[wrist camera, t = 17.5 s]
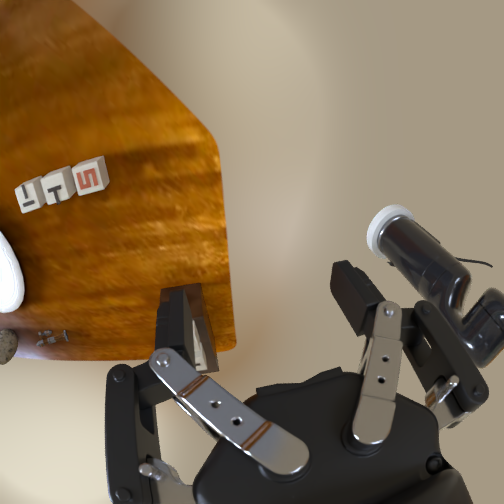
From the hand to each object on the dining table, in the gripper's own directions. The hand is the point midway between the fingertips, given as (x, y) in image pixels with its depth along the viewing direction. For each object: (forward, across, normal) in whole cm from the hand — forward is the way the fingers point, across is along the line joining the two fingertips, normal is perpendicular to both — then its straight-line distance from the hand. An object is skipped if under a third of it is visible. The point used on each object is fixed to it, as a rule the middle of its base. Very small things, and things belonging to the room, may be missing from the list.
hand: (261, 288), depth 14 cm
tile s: (+26, +18, -2) cm, 31 cm away
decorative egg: (+26, +56, +27) cm, 67 cm away
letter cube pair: (+26, +26, -2) cm, 37 cm away
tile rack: (+26, +9, +28) cm, 39 cm away
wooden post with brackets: (+26, +41, +28) cm, 56 cm away
